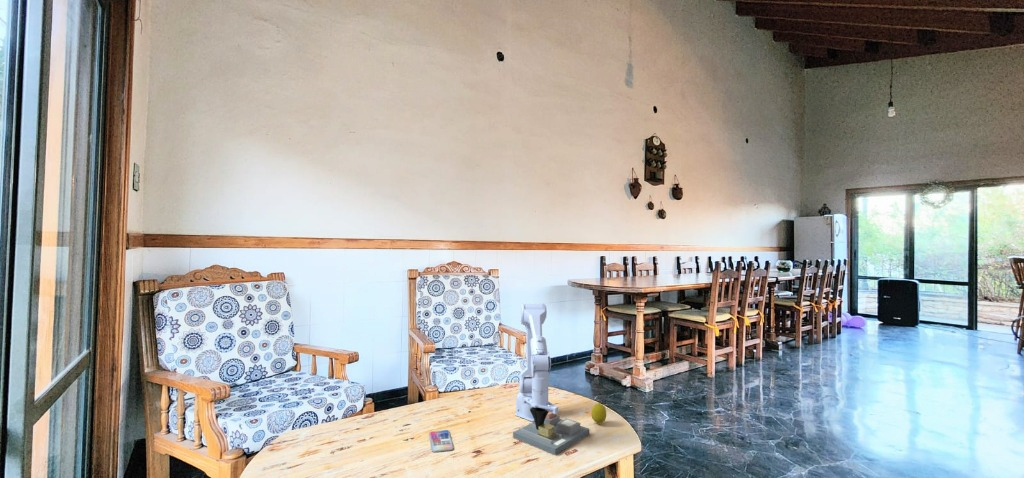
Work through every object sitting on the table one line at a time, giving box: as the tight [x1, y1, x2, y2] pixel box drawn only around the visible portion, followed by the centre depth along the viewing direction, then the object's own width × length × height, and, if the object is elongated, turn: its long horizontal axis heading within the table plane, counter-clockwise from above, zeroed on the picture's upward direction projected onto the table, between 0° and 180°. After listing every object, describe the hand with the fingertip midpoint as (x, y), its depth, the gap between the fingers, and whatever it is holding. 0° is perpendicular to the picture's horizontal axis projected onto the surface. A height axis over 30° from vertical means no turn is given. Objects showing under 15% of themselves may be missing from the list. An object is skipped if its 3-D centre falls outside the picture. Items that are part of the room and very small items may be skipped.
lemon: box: [591, 402, 607, 425], centre depth 165 cm, size 6×6×8 cm
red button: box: [546, 411, 557, 420], centre depth 161 cm, size 4×4×2 cm
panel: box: [512, 414, 591, 456], centre depth 154 cm, size 18×21×4 cm
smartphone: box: [428, 429, 455, 454], centre depth 148 cm, size 7×1×15 cm
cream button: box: [561, 419, 577, 427], centre depth 155 cm, size 4×4×2 cm
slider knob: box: [538, 423, 555, 439], centre depth 149 cm, size 4×4×4 cm
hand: (539, 428), depth 151 cm, fingers closed
